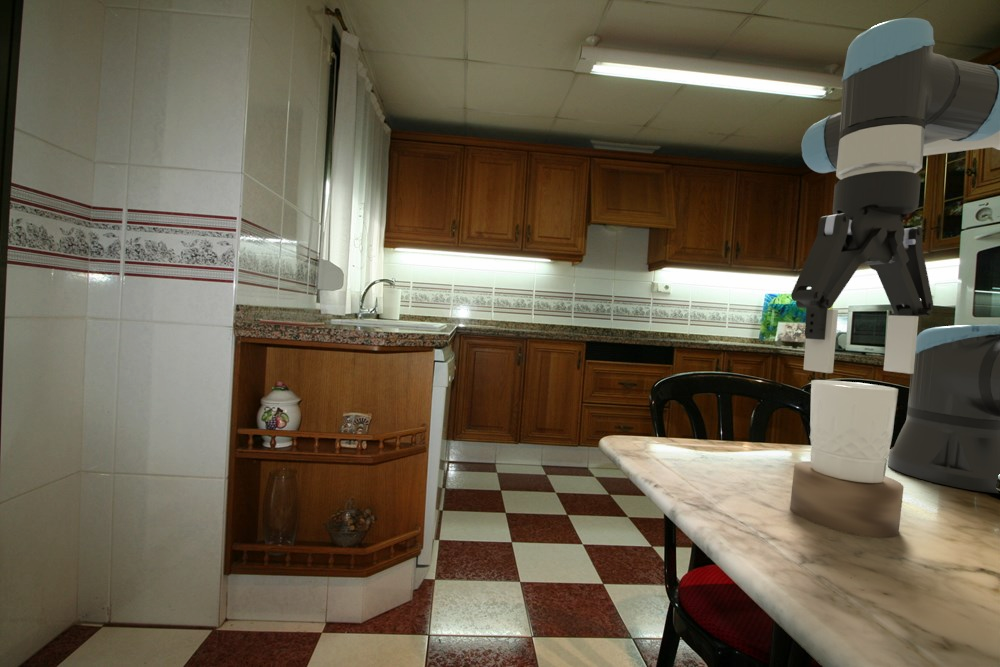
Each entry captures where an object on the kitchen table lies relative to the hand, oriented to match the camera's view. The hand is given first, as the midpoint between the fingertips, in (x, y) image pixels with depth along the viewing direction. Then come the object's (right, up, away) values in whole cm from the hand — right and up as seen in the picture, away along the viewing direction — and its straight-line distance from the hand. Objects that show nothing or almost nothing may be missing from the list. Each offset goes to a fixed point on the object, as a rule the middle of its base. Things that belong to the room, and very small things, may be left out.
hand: (859, 372), depth 56 cm
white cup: (-1, -12, 0) cm, 12 cm away
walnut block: (-2, -16, 0) cm, 17 cm away
